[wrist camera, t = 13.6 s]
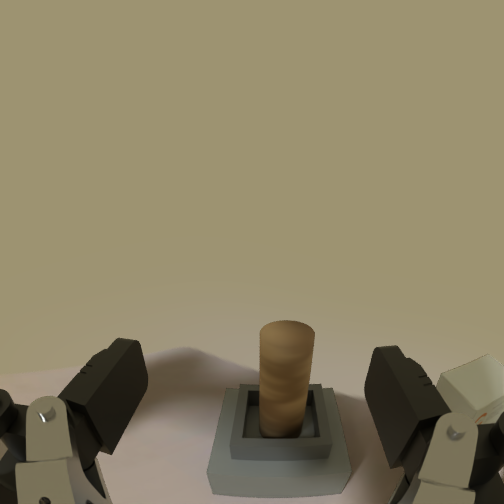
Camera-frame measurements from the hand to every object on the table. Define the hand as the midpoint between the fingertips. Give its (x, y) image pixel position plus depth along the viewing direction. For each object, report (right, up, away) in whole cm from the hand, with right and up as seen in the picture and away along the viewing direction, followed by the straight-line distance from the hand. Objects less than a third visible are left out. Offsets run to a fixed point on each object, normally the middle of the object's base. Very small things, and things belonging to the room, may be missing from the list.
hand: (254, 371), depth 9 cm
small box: (+21, -20, +11) cm, 32 cm away
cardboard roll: (+3, -14, +16) cm, 21 cm away
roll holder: (+3, -19, +17) cm, 26 cm away
